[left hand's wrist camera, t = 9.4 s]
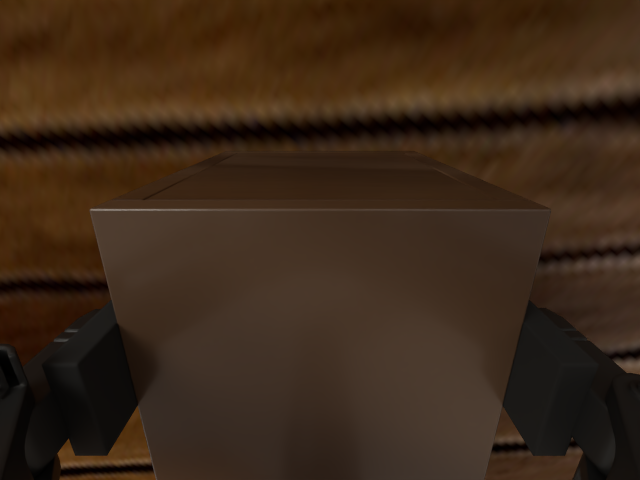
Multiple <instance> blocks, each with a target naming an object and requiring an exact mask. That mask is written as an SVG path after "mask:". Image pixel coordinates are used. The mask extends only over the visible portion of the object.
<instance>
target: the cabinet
mask: <svg viewBox="0 0 640 480" xmlns="http://www.w3.org/2000/svg"><path fill="white" fill-rule="evenodd" d="M550 213H551V209H549V208H547V207H545V206H542V205H540V204H538V203H535V202H533V201H531V200H528V199H525V198H523V197H521V196H518V195H516V194H514V193H511V192H509V191H506V190H504V189H502V188H499V187H497V186H495V185H492V184H490V183H488V182H485V181H483V180H481V179H478V178H476V177H473V176H471V175H469V174H466V173H464V172H462V171H459V170H457V169H455V168H452V167H450V166H448V165H445V164H443V163H441V162H438V161H436V160H433V159H431V158H429V157H426V156H424V155H422V154H419V153H417V152H415V151H226V152H224V153H221V154H219V155H216V156H214V157H212V158H209V159H207V160H205V161H202V162H200V163H198V164H195V165H193V166H190V167H188V168H186V169H183V170H181V171H179V172H176V173H174V174H171V175H169V176H167V177H164V178H162V179H160V180H157V181H155V182H153V183H150V184H148V185H145V186H143V187H141V188H138V189H136V190H134V191H131V192H129V193H127V194H124V195H122V196H119V197H117V198H115V199H112V200H110V201H107V202H105V203H103V204H100V205H98V206H96V207H93V208H91V209H90V214H91V218H92V222H93V226H94V231H95V235H96V239H97V243H98V247H99V251H100V255H101V259H102V263H103V267H104V271H105V275H106V279H107V283H108V287H109V291H110V295H111V299H112V303H113V307H114V311H115V315H116V319H117V323H118V327H119V331H120V335H121V339H122V344H123V348H124V352H125V356H126V360H127V364H128V368H129V372H130V376H131V380H132V384H133V388H134V392H135V396H136V400H137V404H138V408H139V412H140V416H141V420H142V424H143V428H144V432H145V436H146V440H147V444H148V448H149V452H150V456H151V461H152V465H153V469H154V473H155V477H156V480H484V478H485V474H486V470H487V466H488V462H489V458H490V454H491V450H492V446H493V442H494V438H495V434H496V430H497V426H498V422H499V418H500V414H501V410H502V406H503V402H504V398H505V394H506V390H507V386H508V382H509V378H510V374H511V370H512V366H513V362H514V358H515V354H516V350H517V346H518V342H519V338H520V334H521V330H522V326H523V322H524V318H525V314H526V309H527V305H528V301H529V297H530V293H531V289H532V285H533V281H534V277H535V273H536V269H537V265H538V261H539V257H540V253H541V249H542V245H543V241H544V237H545V233H546V229H547V225H548V221H549V217H550Z"/></svg>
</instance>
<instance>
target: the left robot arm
mask: <svg viewBox="0 0 640 480" xmlns="http://www.w3.org/2000/svg"><path fill="white" fill-rule="evenodd" d="M137 406H138V404H137V400H136V396H135V392H134V388H133V384H132V380H131V376H130V372H129V368H128V364H127V360H126V356H125V352H124V348H123V344H122V339H121V335H120V331H119V327H118V323H117V319H116V315H115V311H114V307H113V303H112V300H111V301H110V302H109V303H107V304H106V305H105V306H104V307H103V308H102V309H95V310H93V311H91V312H89V313H87V314H86V315H84V316H82V317H80V318H78V319H77V320H76V321H75V322H73V323H72V324H71V325H70V326H69V327H68V328H67V329H65V332H62V333H61V334H60V335H59V336H57V337H56V338H55V339H54V342H51V343H49V344H48V345H47V346H46V347H45V348H44V349H43V350H41V351H40V352H39V353H38V354H37V355H36V356H35V357H33V358H32V359H31V360H30V361H29V362H28V363H27V364H25V365H24V366H23V367H22V364H21V362H20V359H19V357H18V354H17V352H16V349H15V347H13V346H11V345H9V344H0V480H59V478H60V469H61V465H60V460H59V457H58V454H57V453H58V452H59V450H60V449H61V448H62V446H63V445H64V444H65V442H66V441H67V440H68V438H69V440H70V443H71V445H72V448H73V451H74V453H75V456H107V455H108V453H109V451H110V450H111V448H112V446H113V445H114V443H115V442H116V440H117V438H118V437H119V435H120V433H121V432H122V430H123V428H124V427H125V425H126V424H127V422H128V420H129V419H130V417H131V415H132V414H133V412H134V410H135V409H136V407H137ZM503 407H504V408H505V410H506V412H507V413H508V415H509V417H510V418H511V420H512V421H513V423H514V425H515V426H516V428H517V430H518V431H519V433H520V435H521V436H522V438H523V439H524V441H525V443H526V444H527V446H528V448H529V449H530V451H531V453H532V454H533V456H565V454H566V452H567V449H568V446H569V444H570V441H571V438H572V437H573V439H574V440H575V441H576V443H577V444H578V445H579V447H580V448H581V449H582V451H583V454H582V457H581V459H580V462H579V464H578V467H577V469H576V472H575V474H574V477H573V479H572V480H640V375H638V374H633V373H626V372H625V371H624V370H623V369H622V368H620V367H619V366H618V365H617V364H616V363H615V362H614V361H612V360H611V359H610V358H609V357H608V356H607V355H605V354H604V353H603V352H602V351H601V350H600V349H599V348H597V347H596V346H595V345H594V344H593V343H592V342H590V341H587V338H586V337H585V336H584V335H582V334H581V333H580V332H579V331H576V329H575V328H574V327H573V326H572V325H571V324H570V323H569V322H567V321H566V320H565V319H564V318H563V317H561V316H559V315H557V314H555V313H553V312H552V311H550V310H548V309H546V308H537V307H536V306H535V305H534V304H533V303H532V302H531V301H530V300H529V301H528V305H527V309H526V314H525V318H524V322H523V326H522V330H521V334H520V338H519V342H518V346H517V350H516V354H515V358H514V362H513V366H512V370H511V374H510V378H509V382H508V386H507V390H506V394H505V398H504V402H503Z"/></svg>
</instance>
